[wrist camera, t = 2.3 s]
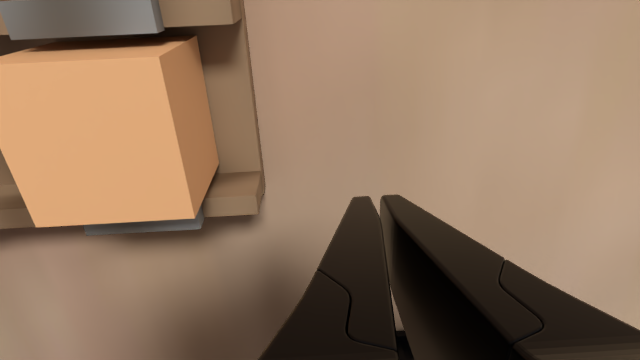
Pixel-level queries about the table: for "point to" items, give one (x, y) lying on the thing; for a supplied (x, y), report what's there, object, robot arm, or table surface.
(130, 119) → the block
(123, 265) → the table surface
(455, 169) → the table surface
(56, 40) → the chute
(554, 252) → the table surface
